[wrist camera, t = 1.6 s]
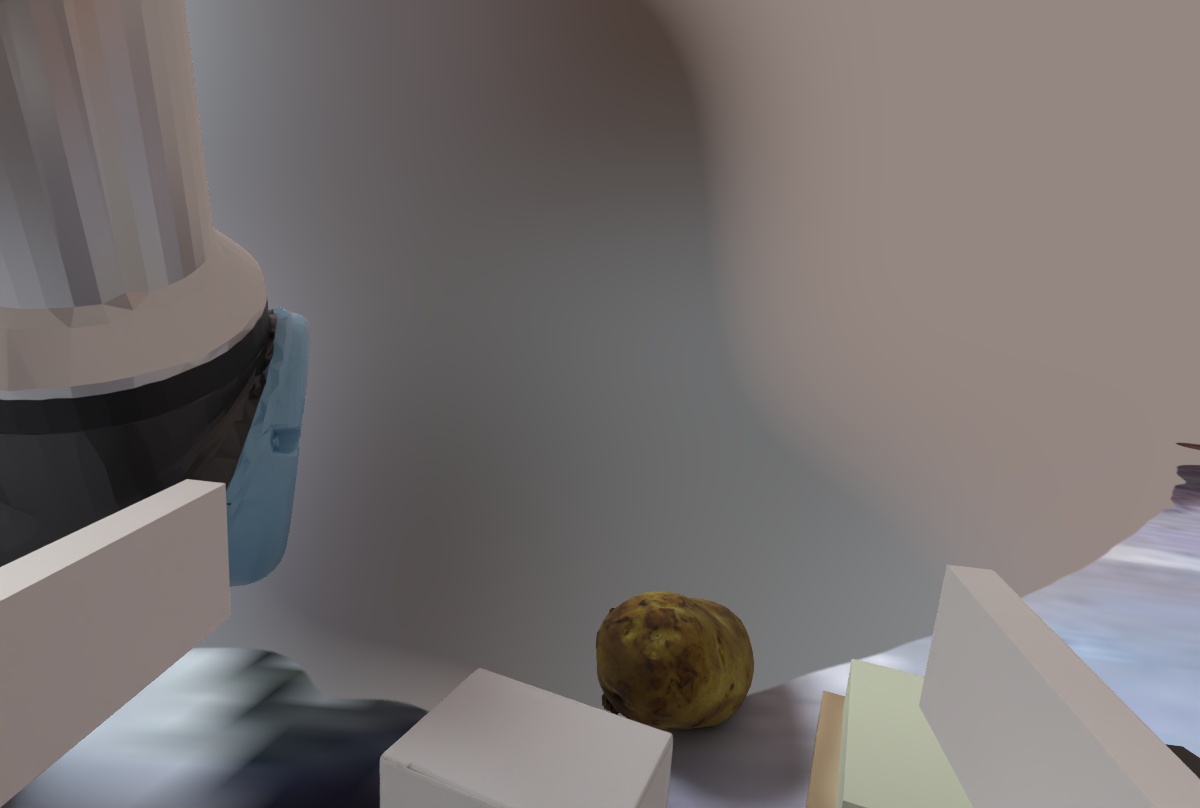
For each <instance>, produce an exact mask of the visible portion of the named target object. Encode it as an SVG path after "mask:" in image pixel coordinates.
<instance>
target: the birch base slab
mask: <svg viewBox="0 0 1200 808" xmlns="http://www.w3.org/2000/svg"><path fill="white" fill-rule="evenodd" d="M844 702H845V697H844V696H841V695H837V694H834V693H830V692H826V691H823V696H822V702H821V708H820V714H819V720H818V726H817V732H816V739H815V746H814V753H813V760H812V767H811V774H810V780H809V787H808V794H807V801H806V808H836V801H837V788H838V774H839V761H840V747H841V734H842V721H843V707H844Z"/></svg>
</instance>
